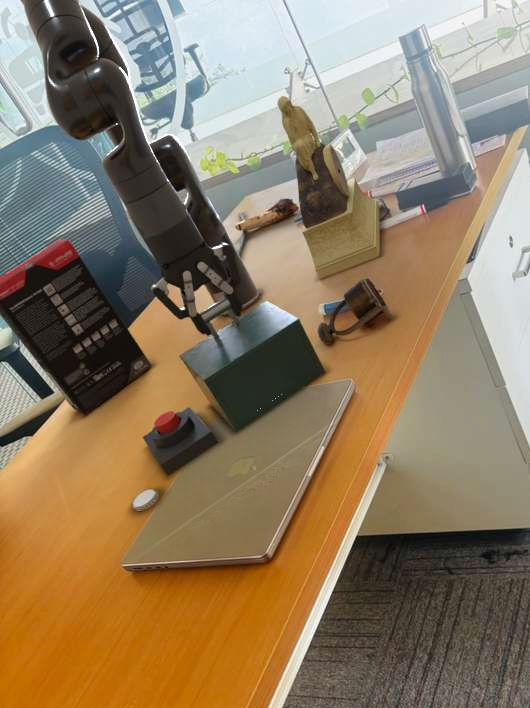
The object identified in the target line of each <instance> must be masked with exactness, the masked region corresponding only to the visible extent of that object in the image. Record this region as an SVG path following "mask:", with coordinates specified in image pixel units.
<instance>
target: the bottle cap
mask: <svg viewBox="0 0 530 708" xmlns="http://www.w3.org/2000/svg"><path fill="white" fill-rule="evenodd" d="M159 495H160V494H159V492H158V491H157V490H156V489H155V488H148V489H145V490H144V491H142V492H140V493H139V494H138V495H136V497H134V499H133V500H132V503H131V507H132V508H133V509H134V511H136V512H141V511H142V512H143V511H146V510H147V509H149V508H150V507H152V506H153V505H154V504H155V503H156V502H157V501H158V499H159Z"/></svg>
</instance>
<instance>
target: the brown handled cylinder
mask: <svg viewBox="0 0 530 708" xmlns="http://www.w3.org/2000/svg"><path fill="white" fill-rule="evenodd" d="M375 286H376V285H375V284H374V283H373V282H372V281H371V280H370V278H366V277H363V278H361V279H360V280H359V281H358V282H356V283H355V284H354V285H353V286H352V287H350V288H349V289H348V290H347V291H346V292H344V293H343V299H342V300H341V301H340V302H339V303H338V304H337V305H336V307H335V308H334V310H333V311H332V313H331V314H330V316H329V317H330V318H329V324H327V323H326V322H324V321H322V322H320V323H319V325H318V328H317V334H318V338H319V339H320V340H321V342H323V343H324V344H327V345H330V344H332V343H333V342H334V337H333V334H335V335H336V336H341V337H342V336H343V337H344V336H347V335H351V334H353V333H354V332H356V331H357V330H359V329H360V328H361V327H362V326H366V327H368V326H369V325H370V324H372V323H373V322H374V321H376V319H379V317H381V316H382V315H383V314H384V315H385V316H386V318H388V319H392V314H391V312H390V310H389V307H388V305H387V303H386V302H385V299H384V298H383V296H382V295H381V294H380V292H379V291H378V289H377V288H376V287H375ZM346 305H347V307H348V308H349V310H350V311H351V313H352V314H353V315H354V316H355V317H356V319H357V320H358V321H356V322H355V323H354V324H353V325H351V326H350V327H348V328H346V329H344V330H337V329H336V326H335V322H336V318H337V316H338V315H339V313H340V312H341V310H342V309H343V308H344V307H345V306H346Z"/></svg>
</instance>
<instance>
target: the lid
mask: <svg viewBox="0 0 530 708" xmlns="http://www.w3.org/2000/svg"><path fill="white" fill-rule="evenodd" d="M226 311H228V313H229V315H228V316H229V317H230V318H231V321H232V322H229V323H228V324H227V325H225V326H224V327H222V328H220V329H219V330H217V331H216V329H215V327H214V326H213V324H212V321H213V320H215V319H216V318H218V317H219V316H222V315H221V314H222V313H224V312H226ZM198 313H199V312H198ZM199 314H200V315H201V317H202V318H203V320H204V322H205V323H206V325H207V327H208V328H209V330H210V332H211V333H212V334H211V335H209V336H207V337H206V338H205V339H203V340H201V341H200V342H198V343H197V344H195V345H194V346H192V347H191V348H189V349H187V350H186V351H184V352H182V353H181V354H179V355H178V357H179V358H180V360H181V361H182V362H183V364H184V363H185V364H186V365H187V366H188V367H189V368H190V369H191V370H192V371H193V372H194V373H195V374H196V375H197V376H198V377H199V378H200V379H201V380H202V381H203V382H204V383H205V384H208V383H209V382H211V381H212V380H214V379H215V378H217V377H218V376H220V375H222V374H223V373H225V372H226V371H228V370H229V369H231V368H232V367H234V366H235V365H237V364H239V363H240V362H242V361H243V360H245V359H246V358H248V357H249V356H251V355H252V354H254V353H256V352H257V351H259V350H260V349H262V348H263V347H265V346H266V345H268V344H269V343H271V342H273V341H274V340H276V339H277V338H279V337H280V336H282V335H283V334H285V333H286V332H288V331H290V330H291V329H293V328H294V327H296V326H297V325H299V324H300V323H301V324H302V322H301V319H300V318H298V317H296V316H295V315H293V314H291V313H289V312H287V311H286V310H284V309H282V308H280V307H278V306H276V305H274V304H273V303H271V302H269V301H268V300H265V301H264V302H261V303H260V304H258V305H256V306H255V307H254V308H252V309H251V310H249V311H247V312H246V313H244V314H242V315H241V316H239V317H237V316H236V315H235V314H234V312H233V310H232V305H231V303H230V302H229V300H228V299H227V298H226V297H225V298H223V299H222V300H220V301H219V302H217V303H214V304H212V305H211V306H209V307H207V308H205V309H204V310H202V311H201V312H200V313H199ZM185 364H184V365H185ZM186 365H185V366H186Z"/></svg>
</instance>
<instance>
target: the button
mask: <svg viewBox="0 0 530 708" xmlns="http://www.w3.org/2000/svg"><path fill="white" fill-rule="evenodd" d="M175 413H176V412H175V411H172V410H171V411H167V412H164V413H162V414H161V415H159V416H158V417H157V418H156V419H155V420H154V422H153V426H154V427H156V428H157V429H158V431H159V432H160V434H165V433H168V432H170V431H172V430H173V429H175V428H176V427H177V426H178V425H179V424H180V422H181V421H180V419H179V418H178V416H177V415H176V414H175Z"/></svg>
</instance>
